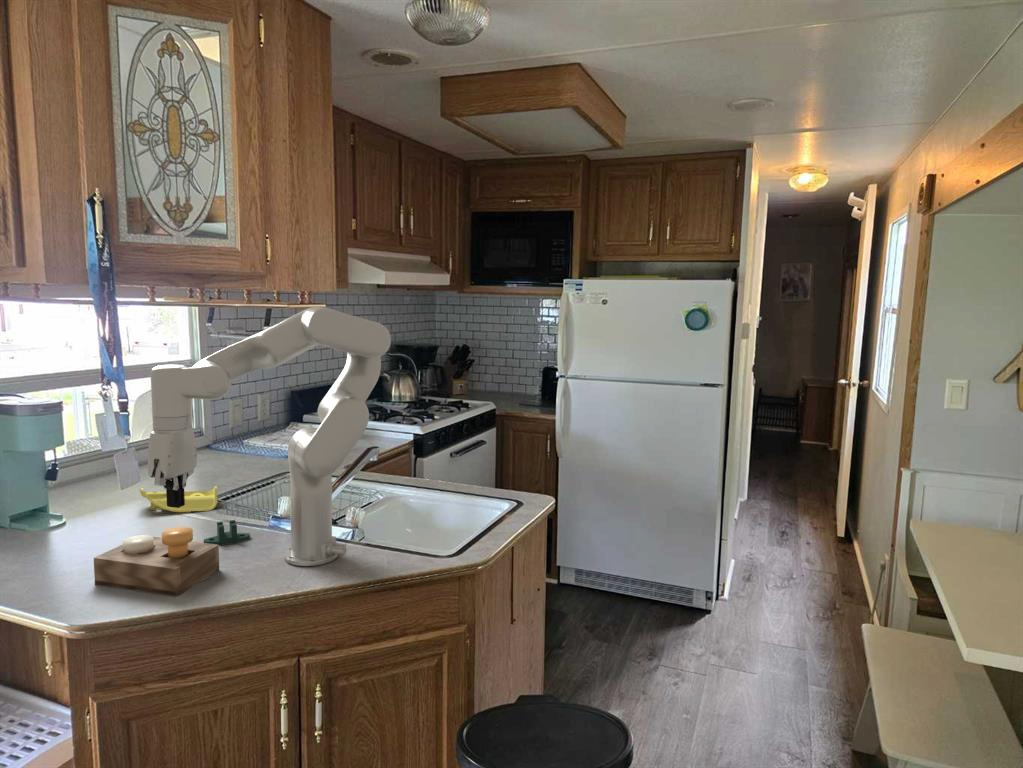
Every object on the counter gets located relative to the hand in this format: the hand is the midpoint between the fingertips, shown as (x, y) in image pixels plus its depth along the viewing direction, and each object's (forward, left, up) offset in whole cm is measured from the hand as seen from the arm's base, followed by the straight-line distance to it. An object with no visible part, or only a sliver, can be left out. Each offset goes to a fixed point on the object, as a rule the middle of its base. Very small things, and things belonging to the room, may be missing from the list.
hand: (175, 505), depth 145 cm
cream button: (+10, 0, -15) cm, 18 cm away
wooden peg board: (+5, 0, -17) cm, 18 cm away
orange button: (0, 0, -12) cm, 12 cm away
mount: (+4, -23, -17) cm, 29 cm away
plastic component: (+32, -42, -17) cm, 56 cm away
